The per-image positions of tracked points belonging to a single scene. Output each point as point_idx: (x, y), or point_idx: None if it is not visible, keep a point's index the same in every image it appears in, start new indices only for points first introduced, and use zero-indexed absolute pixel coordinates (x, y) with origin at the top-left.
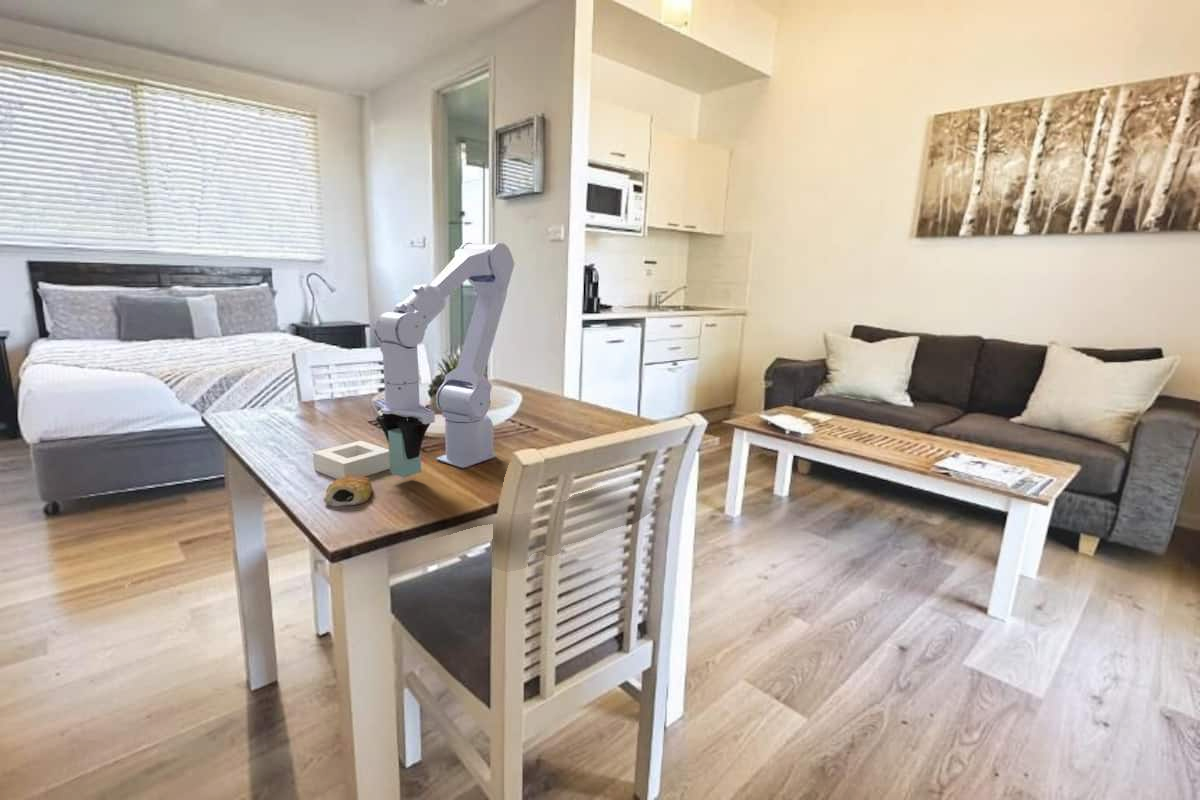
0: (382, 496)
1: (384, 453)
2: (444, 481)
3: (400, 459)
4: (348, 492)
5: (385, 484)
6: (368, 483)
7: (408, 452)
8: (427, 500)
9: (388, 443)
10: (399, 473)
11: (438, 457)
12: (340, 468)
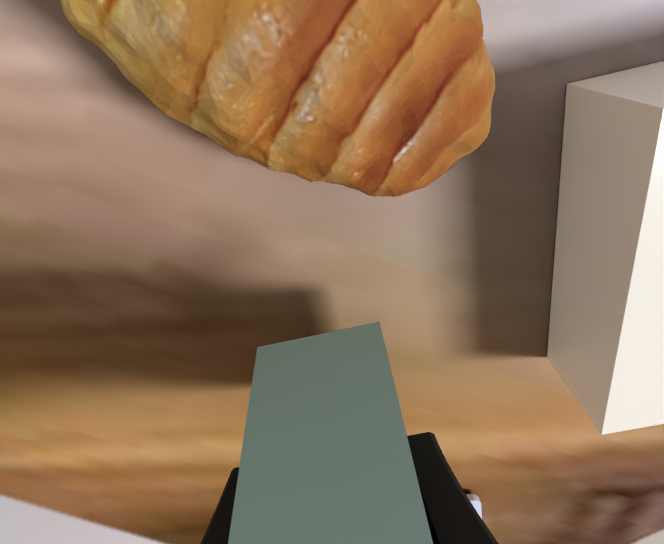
0: (193, 182)
1: (604, 395)
2: (235, 442)
3: (271, 432)
4: None
5: (362, 258)
6: (241, 147)
7: (211, 519)
8: (33, 329)
9: (464, 499)
10: (294, 351)
11: (474, 506)
12: None
